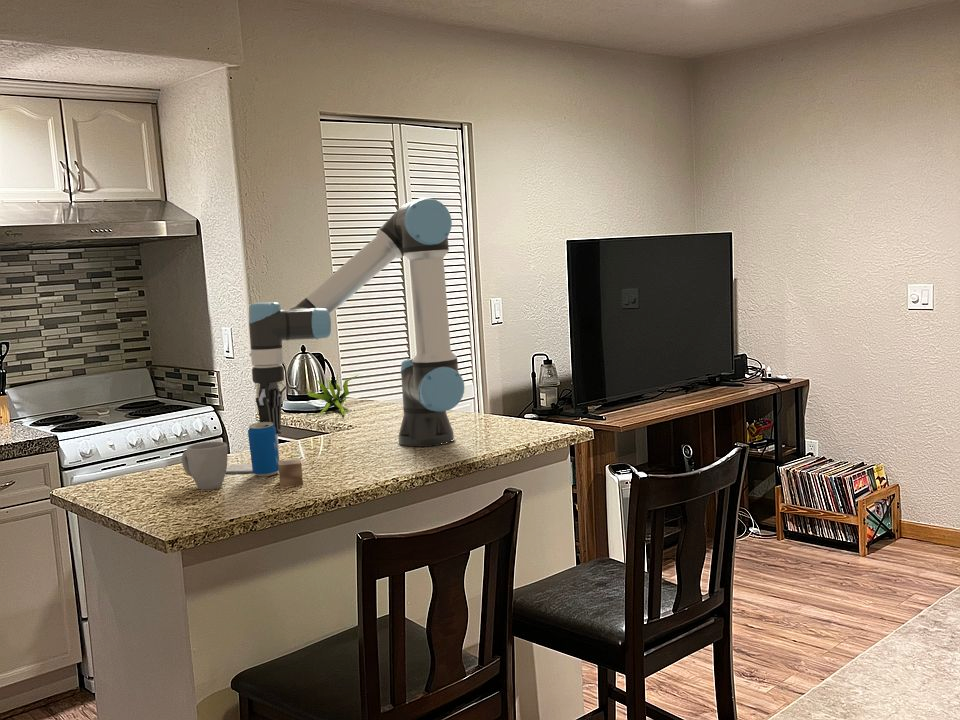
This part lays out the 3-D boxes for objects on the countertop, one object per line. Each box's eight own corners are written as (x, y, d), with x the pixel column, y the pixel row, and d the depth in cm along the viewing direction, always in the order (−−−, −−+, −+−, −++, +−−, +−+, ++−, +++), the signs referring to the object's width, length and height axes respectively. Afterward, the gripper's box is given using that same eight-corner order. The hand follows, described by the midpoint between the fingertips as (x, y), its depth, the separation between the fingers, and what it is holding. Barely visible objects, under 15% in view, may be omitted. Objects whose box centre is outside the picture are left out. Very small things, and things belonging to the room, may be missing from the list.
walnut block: (301, 480, 212) (300, 459, 211) (303, 484, 207) (301, 463, 207) (279, 482, 211) (278, 461, 210) (280, 487, 206) (278, 465, 205)
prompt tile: (267, 465, 231) (267, 462, 230) (255, 473, 221) (255, 470, 221) (232, 466, 231) (232, 463, 231) (218, 474, 222) (218, 471, 222)
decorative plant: (294, 421, 300) (291, 377, 298) (329, 407, 329) (326, 366, 327) (345, 421, 296) (342, 375, 294) (377, 406, 324) (374, 365, 323)
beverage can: (274, 477, 216) (268, 427, 214) (248, 477, 217) (242, 428, 215) (285, 469, 222) (279, 421, 220) (260, 469, 223) (254, 421, 221)
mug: (238, 483, 211) (235, 442, 210) (210, 492, 203) (207, 449, 202) (198, 480, 217) (195, 440, 216) (170, 489, 209) (167, 447, 208)
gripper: (261, 363, 231) (267, 455, 233) (243, 369, 218) (249, 466, 220) (290, 362, 230) (295, 455, 232) (273, 368, 217) (279, 466, 219)
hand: (273, 460), depth 226 cm, fingers closed
